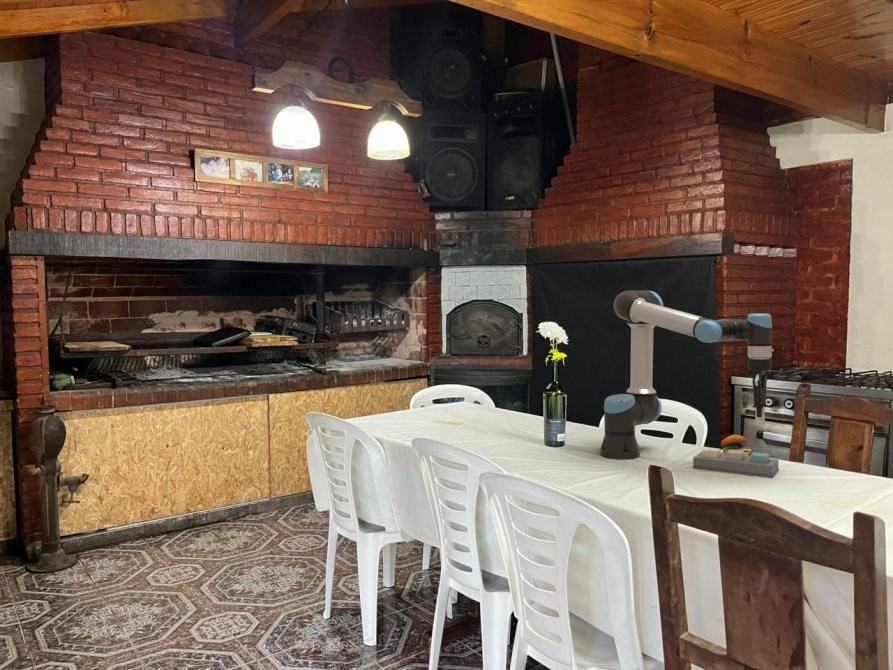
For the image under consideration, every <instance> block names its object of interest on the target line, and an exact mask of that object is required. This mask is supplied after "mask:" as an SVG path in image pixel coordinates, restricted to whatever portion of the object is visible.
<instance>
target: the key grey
mask: <svg viewBox="0 0 893 670" xmlns="http://www.w3.org/2000/svg"><path fill="white" fill-rule="evenodd" d="M726 459H729V460H738V461H743V460H744V451H736V450H729V451H727V452H726Z"/></svg>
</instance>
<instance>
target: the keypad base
mask: <svg viewBox="0 0 893 670" xmlns="http://www.w3.org/2000/svg"><path fill="white" fill-rule="evenodd" d="M692 469H695V470H701V471H702V470H703V471H704V470H705V471H710V472H711V471H713V472H719V473H729V474H737V475H744V476H753V477H760V478H768V479H773V478H774V477H775V475H777V473H778V472H779V471H780V468H779V458H770V457H769V463H768V464H766V463H757V462H751V456H744V460H743V461H738V460H729V459H726V454H724V453H722V452H721V456H720V457H719V458H711V457H703V450H701V451H700V452H699V453H697V454H696V455H694V456H693V459H692Z"/></svg>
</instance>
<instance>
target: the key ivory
mask: <svg viewBox="0 0 893 670" xmlns="http://www.w3.org/2000/svg"><path fill="white" fill-rule="evenodd" d="M702 451H703V457H711V458H719V457H720V456H721V453H722V450H721V448H716V447H707V446H706V447H705V448H704V449H702Z"/></svg>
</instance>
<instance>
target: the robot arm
mask: <svg viewBox="0 0 893 670" xmlns="http://www.w3.org/2000/svg"><path fill="white" fill-rule="evenodd" d="M613 311H614V312H615V315H616V316H617V317H618V318H620V319H622V320H625V321H627V324H626V325H628V326H629V328H630V329H631V330H630V386H629V387H628V388H627V390H626V393H619V394H612V395H609V396H607V397H606V398H605V399H604V403H603V404H604V405H603V410H604V411H603V413H604V414H603V415H604V417H603V418H604V419H603V420H604V437H603V439H602V443H601V446H600V447H599V450H600V451H599V452H600V453H599V454H600V455H601V456H602V457H605V458H608V459H616V460H618V459H619V460H627V459H629V460H630V459H636V458H640V455H641V450H640V447H639V446H640V445H639V443H638V440H637V438H636V437H637V436H636V426H642V425H647V424H651V423H652V422H655V421H656V420H657V419H658V418H659V417H660V416H661V413H662V409H663V408H662V402H661V400H660V399H659V397H658V396H657V391H656V389H655V388H654V387H653V378H654V377H653V375H654V372H653V370H654V369H653V368H654V364H653V363H654V362H653V361H654V357H653V356H654V329H655V327H660V328H662V329H666V330H669V331H673V332H676V333H680V334H683V335H687V336H690V337H693V338H696V339H697V340H698V341H700V342H702V343H706V344H707V343H708V344H712V343H719V342H727V341H730V342H731V341H745V342H746V341H747V357H748V359H747V369H748V370H749V371H754V374H753V375H752V382H751V383H752V391H753V405H752V408H755V412H754V414H755V420H754V421H755V425H754V426H755V427H761V428H762V427H766V426H765V425H766V421H765V420H766V419H765V418H766V417H765V416H766V415H765V414H766V412H765V411H766V409H765V408H767V407H768V404H767V383H768V375H767V374H766V371H771V370H772V369H773V360H772V359H771V358H772V356H773V354H772V352H774V348H773V347H772V345H773V344H772V339H773V338H772V335H773V324H772V323H773V322H772V315H771V314H770V313H749V314H747V319H739V318H738V319H735V318H734V319H732V318H730V319H729V318H721V319H710V318H707V317H703V316H700V315H696V314H693V313H689V312H685V311H681V310H677V309H674V308H670V307H666V306H664V302H663V300H662V298H661V296H660V295H659V294H658V293H656V292H655V291H651V290H646V289H645V290H625V291H622V292H620V293H619V294H618V295H617V296H616V297H615V299H614V302H613Z"/></svg>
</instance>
